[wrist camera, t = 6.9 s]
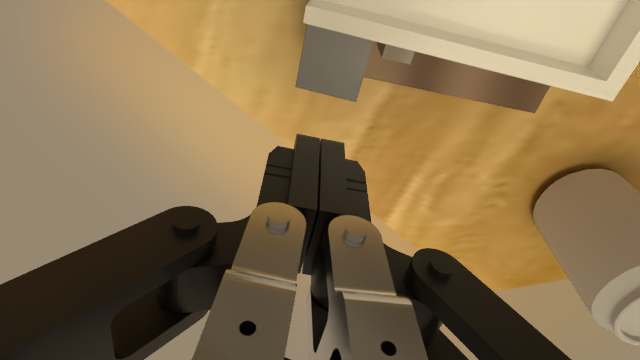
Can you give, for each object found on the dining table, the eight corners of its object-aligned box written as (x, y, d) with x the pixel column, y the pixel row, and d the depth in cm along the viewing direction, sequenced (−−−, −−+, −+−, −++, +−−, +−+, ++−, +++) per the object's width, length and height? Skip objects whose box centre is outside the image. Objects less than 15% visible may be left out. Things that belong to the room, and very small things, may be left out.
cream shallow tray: (682, -78, 18) (731, -75, 15) (546, 143, 24) (565, 170, 21) (344, -167, 17) (339, -178, 15) (298, 80, 24) (288, 100, 21)
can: (540, 243, 38) (615, 366, 28) (518, 186, 34) (595, 306, 24) (628, 211, 35) (744, 334, 26) (615, 147, 32) (744, 261, 22)
